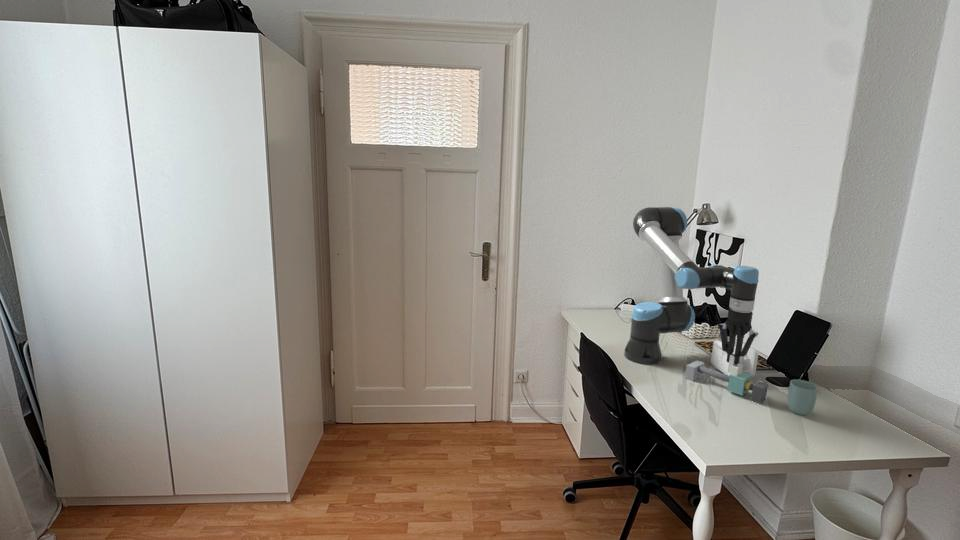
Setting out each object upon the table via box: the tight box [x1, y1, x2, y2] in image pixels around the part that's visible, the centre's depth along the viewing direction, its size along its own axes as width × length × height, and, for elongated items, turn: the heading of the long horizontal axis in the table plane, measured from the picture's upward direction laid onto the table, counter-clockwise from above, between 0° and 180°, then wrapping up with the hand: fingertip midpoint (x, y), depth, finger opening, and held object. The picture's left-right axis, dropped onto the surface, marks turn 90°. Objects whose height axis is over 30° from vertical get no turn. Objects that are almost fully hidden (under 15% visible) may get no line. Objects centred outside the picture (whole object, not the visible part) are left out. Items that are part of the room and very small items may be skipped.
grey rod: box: [697, 366, 755, 392], centre depth 169 cm, size 21×3×3 cm, turn 39°
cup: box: [786, 378, 819, 416], centre depth 152 cm, size 8×8×10 cm
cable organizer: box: [710, 339, 759, 377], centre depth 182 cm, size 15×11×12 cm
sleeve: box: [727, 364, 752, 396], centre depth 165 cm, size 5×6×9 cm
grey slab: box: [684, 360, 705, 382], centre depth 177 cm, size 3×8×5 cm, turn 129°
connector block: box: [750, 380, 769, 405], centre depth 160 cm, size 3×5×6 cm, turn 129°
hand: (731, 371), depth 167 cm, fingers closed
